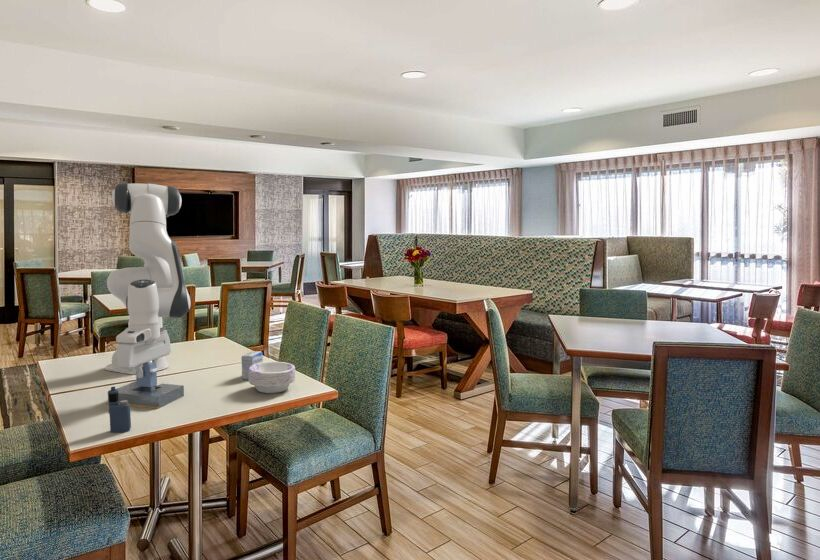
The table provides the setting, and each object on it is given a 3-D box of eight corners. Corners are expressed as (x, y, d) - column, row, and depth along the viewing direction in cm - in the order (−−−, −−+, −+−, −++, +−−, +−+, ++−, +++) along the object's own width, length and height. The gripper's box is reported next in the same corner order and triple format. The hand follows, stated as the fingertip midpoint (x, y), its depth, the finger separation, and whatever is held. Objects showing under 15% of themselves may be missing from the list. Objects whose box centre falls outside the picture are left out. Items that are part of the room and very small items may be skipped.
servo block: (133, 385, 170) (132, 361, 169) (140, 382, 173) (139, 359, 172) (153, 387, 168) (152, 362, 167) (160, 384, 171) (159, 360, 170)
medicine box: (253, 380, 194) (252, 356, 193) (241, 379, 194) (241, 355, 194) (263, 374, 201) (262, 351, 200) (252, 373, 202) (251, 350, 201)
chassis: (106, 403, 166) (106, 392, 166) (135, 391, 179) (135, 381, 178) (157, 408, 163) (157, 397, 162) (183, 396, 175) (183, 385, 174)
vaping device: (112, 429, 146) (110, 385, 145) (132, 428, 147) (130, 385, 146) (108, 432, 144) (105, 388, 142) (128, 432, 144) (126, 388, 143)
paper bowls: (303, 390, 182) (303, 367, 181) (260, 399, 172) (259, 375, 172) (283, 380, 194) (283, 358, 193) (241, 388, 184) (241, 365, 183)
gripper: (158, 325, 180) (159, 366, 181) (111, 338, 160) (113, 383, 161) (174, 326, 178) (176, 367, 179) (130, 339, 158) (132, 385, 160)
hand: (146, 375), depth 170 cm, fingers closed on servo block, 3 cm apart
